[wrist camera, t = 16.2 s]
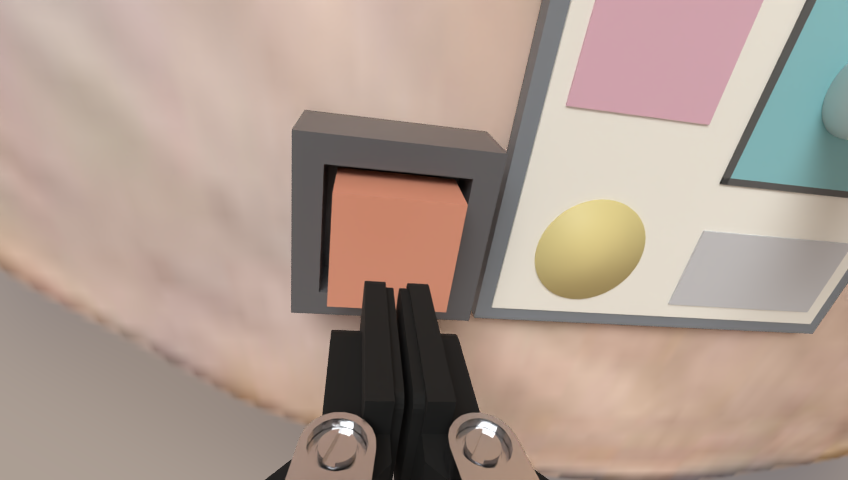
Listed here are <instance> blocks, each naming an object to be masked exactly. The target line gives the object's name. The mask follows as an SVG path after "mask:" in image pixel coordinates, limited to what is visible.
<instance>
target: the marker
mask: <svg viewBox="0 0 848 480" xmlns="http://www.w3.org/2000/svg"><path fill="white" fill-rule="evenodd" d="M822 119H823V123H824V126H825V128H826V129H827V131H828V132H829V133H830V134H832V135H833V136H835V137H838V138H841V139H845V140H848V64H846V65H845V66H844V68H843V69H842V70H841V71H840V72H839V73H838V75H837V76H836V77H835V79H834V80H833V82H832V83H831V85H830V87H829V89H828V91H827V93H826V96H825V99H824V102H823V107H822Z"/></svg>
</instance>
